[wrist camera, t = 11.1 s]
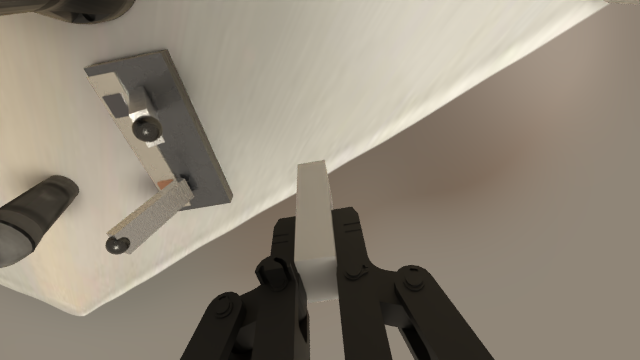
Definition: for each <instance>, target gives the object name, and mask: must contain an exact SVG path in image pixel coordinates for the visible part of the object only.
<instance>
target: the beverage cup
mask: <svg viewBox="0 0 640 360" xmlns="http://www.w3.org/2000/svg"><path fill="white" fill-rule="evenodd" d="M78 193H79V189H78V186H77V185H76V184H75V183H74V182H73V181H72V180H70V179H68V178H66V177H63V176H56V175H55V176H51V177H50V178H49V179H47V180H45V181H42V182H41V183H39V184H38V185H36V186H34V187H33V188H31V189H29V190H28V191H26V192H25V193H23V194H21V195H20V196H18V197H17V198H15V199H13V200H12V201H10V202H9V203H7V204H5V205H4V206H2V207H1V208H0V268H3V267H7V266H10V265H13V264H15V263H17V262H18V261H20V260H22V259H23V258H25V257H26V256H28V255H29V254H31V253H32V252H34V250H35V248H36V247H37V245H38V244H39V242H40V241H41V239H42V237H43V235H44V234H45V233H46V232H47V231H48V230H49V228H50V227H51V226H52V225H53V224H54V222H55V221H56V220H57V219H58V218H59V217H60V215H61V214H62V213H63V212H64V211H65V210H66V208H67V207H68V206H69V205H70V204H71V203H72V201H73V200H74V198H75V197H76V196H77V195H78Z"/></svg>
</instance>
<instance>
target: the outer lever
mask: <svg viewBox="0 0 640 360" xmlns="http://www.w3.org/2000/svg"><path fill="white" fill-rule="evenodd" d="M193 197H195V196H194V195H193V193H192V191H191V189H190V187H189V186H188V184H187V182H186V180H185V179H184V178H176V179H175V180H174V181H172V182H171V183H170V184H168V185H167V186H166V187H165V188H163V189H162V190H161V191H159V192H158V193H157V194H156V195H154V196H153V197H152V198H150V199H149V200H148V201H147V202H145V203H144V204H143V205H142V206H140V207H139V208H138V209H136V210H135V211H134V212H133V213H131V214H130V215H129V216H127V217H126V218H125V219H124V220H122V221H121V222H120V223H118V224H117V225H116V226H115V227H113V228H112V229H111V230H110V231H108V232H107V233H106V234H107V235H108V236H109V238H108V240H107V241H106V249H107V251H108V252H110V253H111V254H122V253H127V254H131V253H132V252H133V251H134V250H135V249H137V248H138V247H139V246H140V245H141V244H142V243H143V242H144V241H145V240H147V239H148V238H149V237H150V236H151V235H152V234H153V233H154V232H156V231H157V230H158V229H159V228H160V227H161V226H162V225H163V224H164V223H166V222H167V221H168V220H169V219H170V218H171V217H172V216H173V215H174V214H176V213H177V212H178V211H179V210H180V209H181V208H182V207H183V206H185V205H186V204H187V203H188V202H189V201H190V200H191V199H192V198H193Z"/></svg>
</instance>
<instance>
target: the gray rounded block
mask: <svg viewBox="0 0 640 360" xmlns="http://www.w3.org/2000/svg"><path fill="white" fill-rule="evenodd" d="M604 1H606V2H608V3H618V4H632V5H640V0H604Z"/></svg>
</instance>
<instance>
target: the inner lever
mask: <svg viewBox="0 0 640 360" xmlns="http://www.w3.org/2000/svg"><path fill="white" fill-rule="evenodd" d="M129 116H130V118H131V119H132V121H133V123H132V132H133V134H134V136H135V137H136V138H137V139H139V140H141V141H143V142H145V143H146V144H147V146H148V148H150V147H153V146H155V145H158V144H161V143H164V142H165V140H164V137H163V127H162V125H161V123H160V122H159V118H158V114H157V111H156V110H155V108H154V106H153V104H152V102H151V100H150V98H149V96H148V95H147V93H146V91H145V89H144V87H143V86H141V87H137V88H134V89H130V90H129Z"/></svg>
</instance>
